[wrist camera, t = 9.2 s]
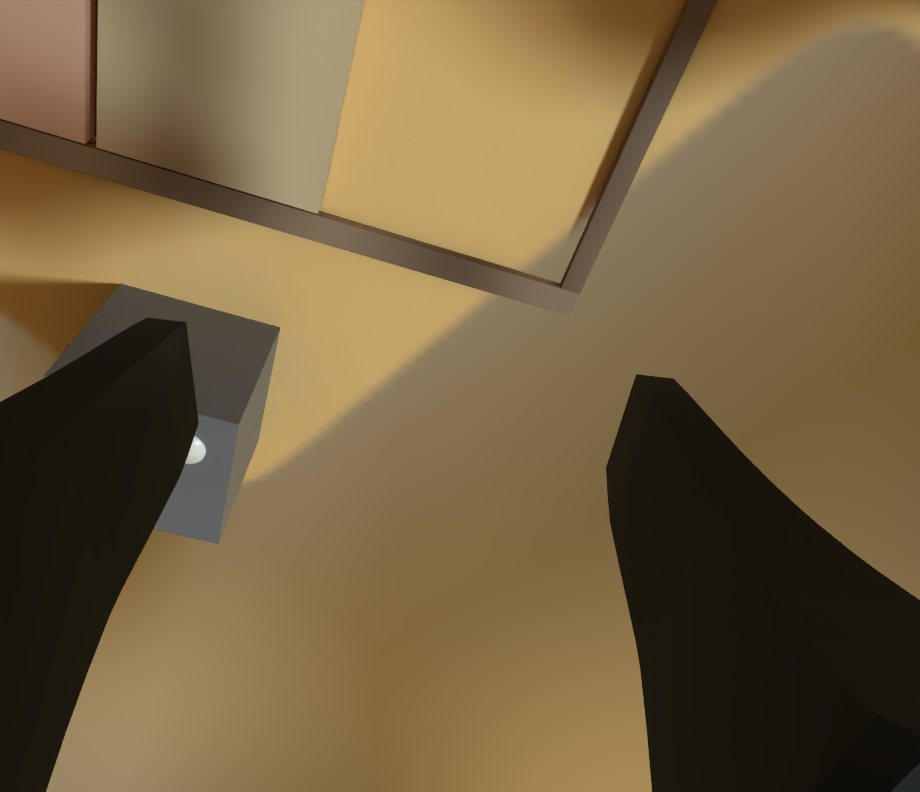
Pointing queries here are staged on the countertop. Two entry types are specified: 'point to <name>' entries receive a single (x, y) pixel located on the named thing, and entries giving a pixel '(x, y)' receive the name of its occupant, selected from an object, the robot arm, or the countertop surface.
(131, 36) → the board
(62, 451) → the robot arm
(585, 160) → the countertop surface
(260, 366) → the die
